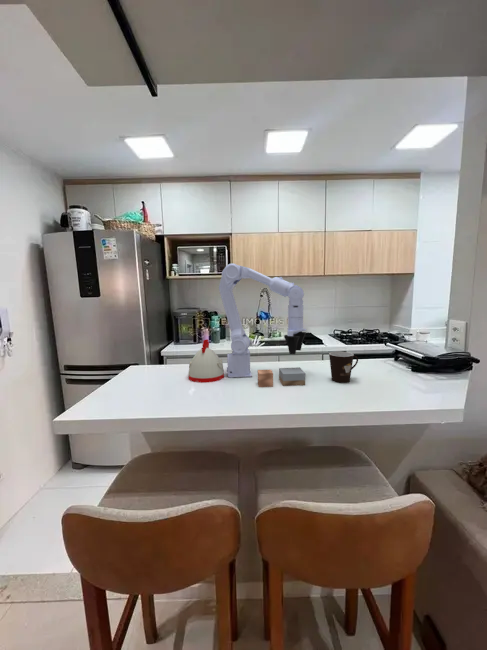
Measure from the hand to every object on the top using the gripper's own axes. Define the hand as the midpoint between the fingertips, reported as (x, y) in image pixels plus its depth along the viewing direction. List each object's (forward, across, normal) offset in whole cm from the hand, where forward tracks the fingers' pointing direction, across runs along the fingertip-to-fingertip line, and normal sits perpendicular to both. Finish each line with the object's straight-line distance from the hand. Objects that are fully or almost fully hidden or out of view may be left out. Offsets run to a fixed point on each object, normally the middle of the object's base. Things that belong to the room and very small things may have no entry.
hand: (295, 352), depth 119 cm
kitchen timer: (+10, -14, +32) cm, 36 cm away
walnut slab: (+10, -8, -1) cm, 13 cm away
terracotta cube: (+10, -14, +7) cm, 19 cm away
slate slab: (+8, -8, -1) cm, 11 cm away
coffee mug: (+10, +2, -18) cm, 21 cm away
